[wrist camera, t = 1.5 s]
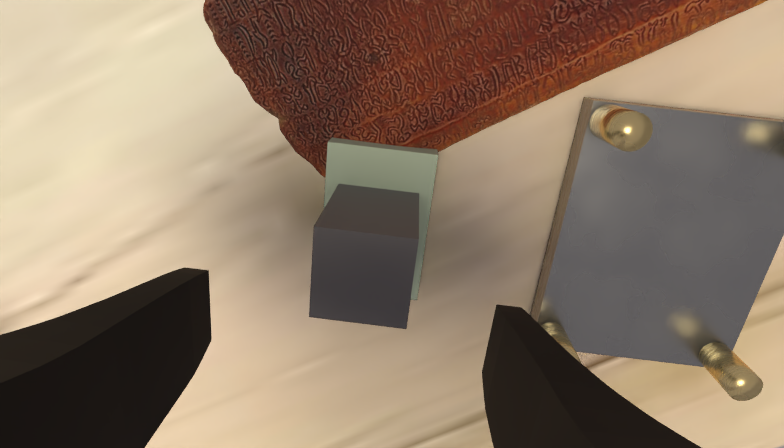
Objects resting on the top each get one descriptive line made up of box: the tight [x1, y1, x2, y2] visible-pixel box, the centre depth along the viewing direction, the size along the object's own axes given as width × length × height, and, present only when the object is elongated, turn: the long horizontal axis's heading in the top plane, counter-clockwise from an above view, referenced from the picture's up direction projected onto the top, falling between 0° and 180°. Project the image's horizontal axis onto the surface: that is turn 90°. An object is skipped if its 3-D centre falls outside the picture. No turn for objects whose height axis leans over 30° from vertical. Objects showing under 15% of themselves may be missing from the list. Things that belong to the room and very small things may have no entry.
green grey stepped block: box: [309, 138, 438, 329], centre depth 16 cm, size 6×4×6 cm, turn 174°
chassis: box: [530, 97, 784, 401], centre depth 17 cm, size 10×8×3 cm
